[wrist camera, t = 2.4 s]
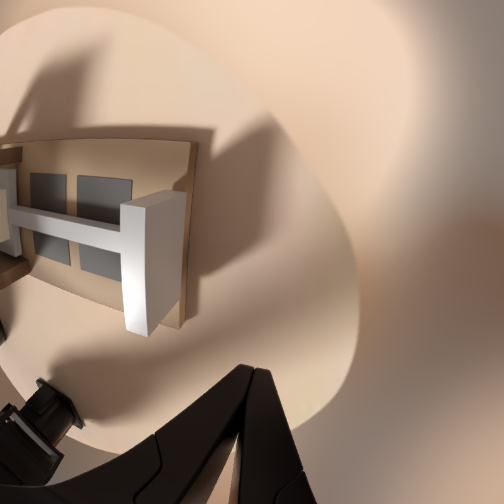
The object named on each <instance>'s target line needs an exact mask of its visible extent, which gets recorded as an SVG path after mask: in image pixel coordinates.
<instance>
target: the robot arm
mask: <svg viewBox="0 0 504 504" xmlns="http://www.w3.org/2000/svg"><path fill="white" fill-rule="evenodd" d="M36 383H37V386H38V388H39V389H38V390H37V391H36V392H35V393H34V394H33V395H32V396H31V397H30V398H29V399H28V400H27V401H26V403H25V404H26V405H25V406H24V407H23V408H22V409H21V410H20V411H18V410H17V408H16V406H15V405H14V406H12V405H11V404H10V403H8V404H7V405H6V406H5V407H4V408H3V409H2V411H0V504H206V503H207V501H208V499H209V497H210V495H211V493H212V491H213V489H214V487H215V485H216V483H217V480H218V478H219V476H220V474H221V472H222V470H223V468H224V466H225V464H226V462H227V459H228V457H229V455H230V453H231V451H232V448H233V446H234V444H235V441H236V439H237V444H236V450H235V458H234V467H233V473H232V481H231V489H230V496H229V503H228V504H317V502H316V500H315V497H314V495H313V493H312V490H311V488H310V485H309V483H308V480H307V477H306V474H305V472H304V471H303V466H302V463H301V460H300V457H299V454H298V452H297V449H296V446H295V443H294V440H293V437H292V434H291V431H290V428H289V425H288V422H287V419H286V416H285V413H284V410H283V407H282V404H281V401H280V398H279V395H278V392H277V389H276V386H275V383H274V380H273V377H272V374H271V372H270V371H269V370H267V369H262V368H255V369H254V367H252V366H248V365H244V364H239V365H238V366H236V367H235V368H234V369H233V370H232V371H231V372H229V373H228V374H227V375H226V376H225V377H224V378H222V379H221V380H220V381H219V382H218V383H216V384H215V385H214V386H213V387H212V388H210V389H209V390H208V391H207V392H206V393H204V394H203V395H202V396H201V397H199V398H198V399H197V400H196V401H195V402H193V403H192V404H191V405H190V406H188V407H187V408H186V409H184V410H183V411H182V412H181V413H179V414H178V415H177V416H176V417H174V418H173V419H172V420H170V421H169V422H168V423H166V424H165V425H164V426H162V427H161V428H160V429H158V430H157V431H156V432H155V435H154V434H151V435H150V436H149V437H147V438H146V439H145V440H143V441H142V442H141V443H139V444H138V445H136V446H134V447H133V448H131V449H130V450H128V451H127V452H125V453H123V454H122V455H120V456H118V457H116V458H114V459H112V460H110V461H109V462H107V463H105V464H102V465H101V466H98V467H96V468H94V469H92V470H89V471H87V472H85V473H83V474H80V475H78V476H76V477H74V478H71V479H69V480H66V481H64V482H61V483H58V484H54V485H48V486H45V485H46V484H47V483H48V481H50V479H51V478H52V476H53V474H54V473H55V471H56V469H57V467H58V466H59V464H60V462H61V460H62V459H63V457H64V454H62V453H61V452H59V451H58V450H57V449H56V448H55V447H56V446H57V444H58V443H59V442H60V440H61V439H62V438H63V437H64V435H65V434H66V433H67V432H68V430H69V429H70V428H71V426H72V425H74V426H76V427H78V428H79V429H82V428H83V425H82V423H81V421H80V419H79V417H78V415H77V413H76V411H75V408H74V406H73V404H72V402H71V400H70V399H68V398H67V397H65V396H64V395H62V394H60V393H59V392H57V391H55V390H54V389H52V388H51V387H49V386H48V385H46V384H45V383H43V382H42V381H40V380H39V379H37V380H36ZM10 416H11V417H12V418H13V419H14V421H12V420H11V419H10V418H9V417H10ZM237 436H238V438H237Z"/></svg>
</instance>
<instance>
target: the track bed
mask: <svg viewBox="0 0 504 504" xmlns="http://www.w3.org/2000/svg"><path fill="white" fill-rule="evenodd" d="M20 146H23V151H22V162H18V163H13V164H7V165H2V166H0V168H2V169H16V192H17V205H18V206H23V207H28V208H33V209H39V210H44V211H49V212H54V213H59V214H64V215H69V216H74V217H79V218H84V219H89V220H94V221H99V222H104V223H109V224H114V225H120V204H122V203H125V202H128V201H131V200H134V199H137V198H140V197H143V196H146V195H149V194H152V193H156V192H159V191H162V190H165V189H166V190H174V191H181V192H187V197H186V209H185V222H184V237H183V255H182V277H181V299H180V300H179V301H178V302H177V303H176V305H175V306H174V307H173V308H172V309H171V310H170V312H169V313H168V314H167V315H166V316H165V318H164V319H163V320H162V321H161V322H160V324H162V325H165V326H169V327H172V328H176V329H180V328H181V326H182V325H183V323H184V322H185V306H186V280H187V261H188V244H189V230H190V217H191V205H192V194H193V184H194V174H195V165H196V156H197V147H198V143H197V142H185V141H171V140H152V139H114V138H99V139H62V140H45V141H32V142H21V143H12V144H3V145H0V149H4V148H11V147H20ZM19 233H20V242H21V249H22V254H21V255H19V256H21V257H24V258H26V259H29V266H30V271H31V273H29V275H31V276H33V277H35V278H37V279H40V280H42V281H44V282H47V283H49V284H51V285H54V286H56V287H58V288H61V289H63V290H66V291H68V292H71V293H73V294H76V295H78V296H81V297H83V298H86V299H89V300H91V301H94V302H97V303H99V304H102V305H105V306H108V307H110V308H113V309H116V310H119V311H122V312H124V302H123V290H122V274H121V253H117V252H113V251H109V250H105V249H101V248H97V247H93V246H90V245H86V244H82V243H78V242H74V241H71V240H67V239H63V238H60V237H56V236H52V235H49V234H45V233H41V232H38V231H34V230H31V229H27V228H24V227H20V226H19Z"/></svg>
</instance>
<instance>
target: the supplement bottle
mask: <svg viewBox="0 0 504 504" xmlns="http://www.w3.org/2000/svg"><path fill="white" fill-rule="evenodd" d="M4 341H5V335H4V331H3V328H2V325H1V323H0V346H1V345H2V344H3V343H4Z"/></svg>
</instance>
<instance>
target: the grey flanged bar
mask: <svg viewBox="0 0 504 504" xmlns="http://www.w3.org/2000/svg"><path fill="white" fill-rule="evenodd" d="M0 189H6V199H7V214H8V224H9V234H10V239H8V240H6V241H3V242H1V243H0V251H3V252H5V253H7V254H9V255H12V256H14V257H17V256H19V255H21V254H22V249H21V242H20V233H19V226H20V227H24V228H27V229H31V230H34V231H38V232H41V233H45V234H49V235H52V236H56V237H60V238H63V239H67V240H71V241H74V242H78V243H82V244H86V245H90V246H93V247H97V248H101V249H105V250H109V251H113V252H117V253H121V274H122V290H123V302H124V313H125V323H126V330H128V331H131V332H133V333H136V334H139V335H142V336H145V337H149V336H150V334H151V333H152V332H153V331H154V330H155V328H156V327H157V326H158V325H159V324H160V322H161V321H162V320H163V319H164V318H165V316H166V315H167V314H168V313H169V312H170V310H171V309H172V308H173V307H174V306H175V305H176V303H177V302H178V301H179V300H180V299H181V277H182V255H183V237H184V222H185V209H186V197H187V192H181V191H174V190H166V189H165V190H162V191H159V192H156V193H152V194H149V195H146V196H143V197H140V198H137V199H134V200H131V201H128V202H125V203H122V204H120V225H114V224H109V223H104V222H99V221H94V220H89V219H84V218H79V217H74V216H69V215H64V214H59V213H54V212H49V211H44V210H39V209H33V208H28V207H23V206H18V205H17V192H16V169H2V168H0Z"/></svg>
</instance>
